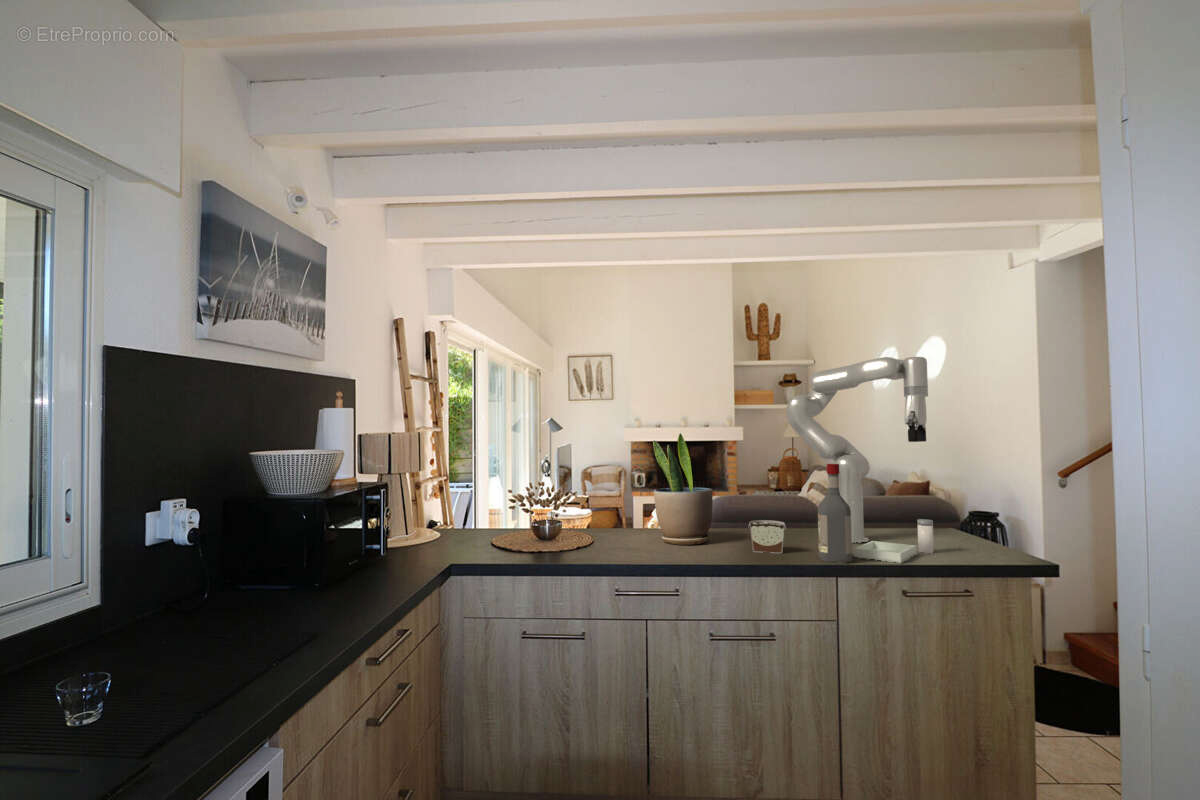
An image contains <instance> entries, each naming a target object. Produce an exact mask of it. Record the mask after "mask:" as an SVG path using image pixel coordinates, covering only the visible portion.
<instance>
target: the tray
mask: <svg viewBox="0 0 1200 800" xmlns="http://www.w3.org/2000/svg"><path fill="white" fill-rule="evenodd" d="M915 555H916V556H918V545H917V544H916V545H913V544H904V543H896V542H886V541H878V540H877V541H876V540H871V541H869V542H867V543H862V544H860V545H858V546H856V547H853V558H854V557H859V558H858V559H861V558H867V559H866V560H869V559H875V560H874V561H877V560H881V561H880V562H885V561H887V562H886V563H893V562H896V563H895V564H903V563H904V561H905V562H906V561H908V560H910V559H912V558H914V557H916V556H915ZM913 556H914V557H913ZM911 557H912V558H911ZM902 562H903V563H902Z"/></svg>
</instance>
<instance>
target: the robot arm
mask: <svg viewBox="0 0 1200 800" xmlns="http://www.w3.org/2000/svg"><path fill="white" fill-rule="evenodd" d="M809 379H810V380H809V385H810V388H811V391H810V392H809V394H807V395H806V394H797V395H795V396H793V397H792V398H791V399H789V401H788V403H787V405H786V409H785V410H786V411H785V412H786V418H787V421H788V424H789V425H790V427H791V428H792V430H794V432H795V433H797V435H798V436H799V437H800V438H801V439H803V441H804V442H805V443H806V444H807V445H808V446H809V447H810V448H811V449H812V450H813V451H814V452H815V453H816V454H817V455H818V457H820V458H821V459H824V460H832V461H833V462H834V463H833V464H839V474H838V477H839V492H840V496H841V497H842V498H843V499H844V501H845V502H846V503H847V504H848V505H849V507H850V510H851V538H852V544H862V543H861V542H867V543H868V541H869V540H870V539H869V538H868V537H866V536H865V533H864V532H865V531H864V529H865V527H864V495H863V494H864V493H863V492H864V491H863V486H862V485H863V484H862V480H861V479H863V478H865V477H866V476H867V475H868V474H869V473H870V462H869V460H868V459H867V458H866V457H865V456H864V455H863V454H862V452H860V451H859V450H858V449H857V448H856V447H855V446H854V445H853V444H852V443H851V442H849V440H847V439H846V438H845V437H843V436H842V435H839V434H831V433H830V432H829V431H827V430H826V429H825V428H824V427H823V426H822V425H821V424H820V423H819V422H818V421H816V420H815V418H812V417H817V416H818V415H821V413H822V412H823V410H825V408H826V407H827V405H829V403H830V402H831V400H833V398H834V397H835V395H836V394H837V392H838V391H842V390H843V391H844V390H849V389H854V388H857V387H858V386H859V385H861V384H864V383H867V382H871V381H876V380H883V379H887V380H891V381H892V380H894V381H897V380H902V379H903V397H904V398H905V401H904V424H905V425H907V441H908V442H910V443H916V442H917V443H918V442H919V443H920V442H922V443H923V442H927V428H926V425H927V402H926V398H927V397H929V387H928V386H929V384H928V383H929V381H928V360H927V358H925V356H924V357H923V356H911V357H910V356H909V357H906V358H904V359H897V358H893V357H890V356H885V357H884V356H883V357H878V358H874V359H869V360H868V359H867V360H864V361H860V362H856V363H853V364H850V365H845V366H840V367H835V368H830V369H825V370H824V369H823V370H821V371H817V372H815V373H813V374H812V375H811V376H810V378H809ZM854 542H855V543H854ZM856 542H858V543H856ZM869 542H870V541H869Z"/></svg>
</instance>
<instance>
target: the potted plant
mask: <svg viewBox="0 0 1200 800" xmlns="http://www.w3.org/2000/svg"><path fill="white" fill-rule="evenodd" d="M652 443H653V452H654V455H655V458H656V461H657V463H658V465H659V467H660V468H661V469H662V470H663V471H662V472H663V473H664V475H665V477H666V479H667V483H668V484H669V485H668V486H669V487H667V488H666V487H664V488H663V487H662V488H656V489H653V496H654V506H655V514H656V520H657V524H658V527H659V529H660V531H661V533H662V536H661V539H662V540H663V542H665V543H668V544H672V545H686V546H687V545H689V546H690V545H700V544H705V543H707V542H708V541H710V539H711V536H710V534H708V533H709V531H710V528H711V525H712V518H713V489H712V488H710V487H709V488H707V487H693V486H694V484H693V483H694V482H693V481H694V480H693V473H692V465H691V464H692V463H691V457H690V454H689V450H688V446H687V443H686V441H685V439H684V437H683V435H682V433H681V432H679V434H678V437H677V453H678V455H677V456H678V459H679V460H677V458H676V456H675V454H674V452H673V449H671V447H670V445H669V444H668V445H667V446H666V447H667V448H666V449H667V451H666V452H667V455H666V454H665V452H664V451H663V449H662V447H661V446H660V444H659V443H658V441H656V440H653V442H652ZM666 456H667V457H666ZM678 461H679V463H680V465H679V464H678ZM680 466H681V467H680ZM681 469H682V470H683V472H684V474H685V477H686V479H687V483H688V487H684V480H683V476H682V471H681Z"/></svg>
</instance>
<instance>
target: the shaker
mask: <svg viewBox="0 0 1200 800" xmlns="http://www.w3.org/2000/svg"><path fill="white" fill-rule="evenodd" d="M916 521H917V552H918V551H919V552H918V553H920V552H924V553H923V554H929V553H930V554H934V553H935V550H934V549H935V548H934V521H933V520H932V519H925V518H924V519H923V518H918V519H917V520H916ZM933 552H934V553H933Z"/></svg>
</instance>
